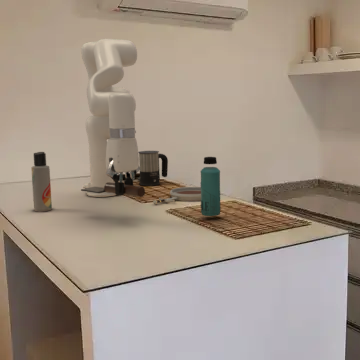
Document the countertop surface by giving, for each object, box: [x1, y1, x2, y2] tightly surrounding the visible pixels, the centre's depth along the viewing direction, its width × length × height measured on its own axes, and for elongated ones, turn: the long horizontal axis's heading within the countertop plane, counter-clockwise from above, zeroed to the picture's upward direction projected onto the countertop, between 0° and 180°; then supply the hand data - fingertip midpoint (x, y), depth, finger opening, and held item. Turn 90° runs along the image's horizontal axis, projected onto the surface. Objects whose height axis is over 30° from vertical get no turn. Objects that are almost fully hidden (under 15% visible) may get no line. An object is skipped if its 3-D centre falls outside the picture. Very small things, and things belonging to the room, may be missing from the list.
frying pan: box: [152, 186, 201, 206], centre depth 189 cm, size 17×3×28 cm
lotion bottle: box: [31, 151, 53, 213], centre depth 168 cm, size 6×6×20 cm
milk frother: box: [137, 150, 169, 187], centre depth 224 cm, size 14×16×15 cm
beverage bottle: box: [199, 156, 222, 217], centre depth 157 cm, size 6×7×20 cm
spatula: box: [80, 182, 146, 198], centre depth 154 cm, size 23×6×3 cm, turn 59°
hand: (124, 193), depth 152 cm, fingers closed on spatula, 3 cm apart
